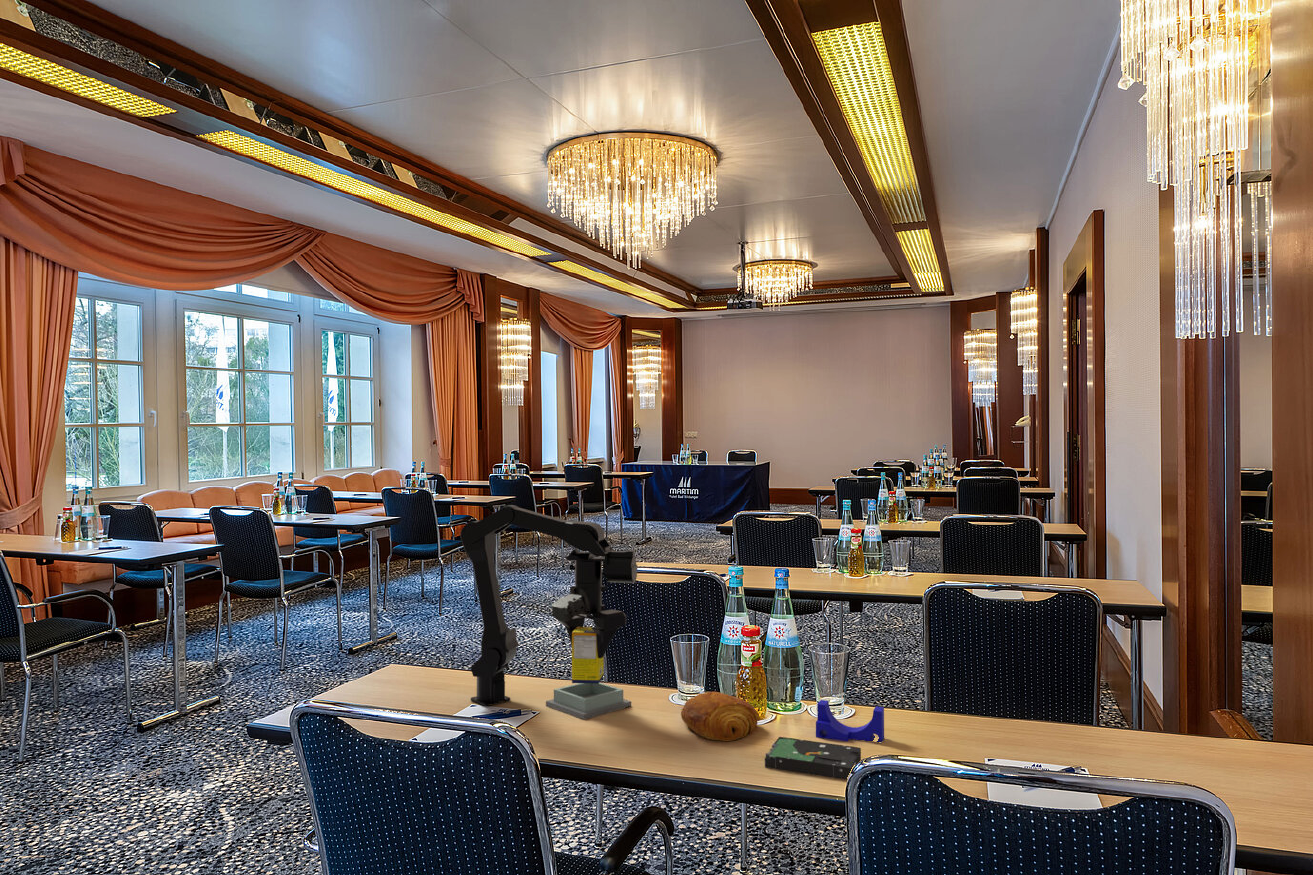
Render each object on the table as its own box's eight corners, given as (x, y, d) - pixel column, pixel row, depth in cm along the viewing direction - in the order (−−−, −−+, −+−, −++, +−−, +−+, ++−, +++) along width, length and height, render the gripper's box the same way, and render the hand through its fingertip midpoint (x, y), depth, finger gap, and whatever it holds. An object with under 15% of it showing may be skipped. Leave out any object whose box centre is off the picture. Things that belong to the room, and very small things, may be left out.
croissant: (700, 758, 150) (701, 716, 149) (672, 720, 164) (672, 682, 163) (771, 747, 154) (772, 706, 153) (737, 711, 169) (738, 674, 168)
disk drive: (861, 762, 143) (778, 750, 148) (861, 746, 143) (778, 735, 148) (852, 784, 133) (763, 770, 139) (852, 767, 133) (763, 753, 139)
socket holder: (545, 705, 174) (545, 689, 174) (592, 693, 183) (592, 677, 183) (583, 719, 165) (583, 702, 165) (631, 706, 174) (631, 689, 174)
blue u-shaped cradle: (815, 738, 154) (815, 706, 154) (821, 730, 158) (820, 699, 158) (880, 746, 149) (880, 713, 150) (884, 739, 153) (883, 707, 154)
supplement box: (603, 676, 177) (604, 626, 177) (599, 684, 171) (599, 632, 171) (576, 676, 178) (577, 625, 178) (571, 683, 172) (571, 631, 172)
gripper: (532, 580, 176) (531, 652, 176) (586, 590, 163) (586, 669, 162) (573, 575, 184) (572, 644, 183) (628, 584, 170) (627, 659, 170)
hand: (587, 654), depth 174 cm, fingers closed on supplement box, 8 cm apart
